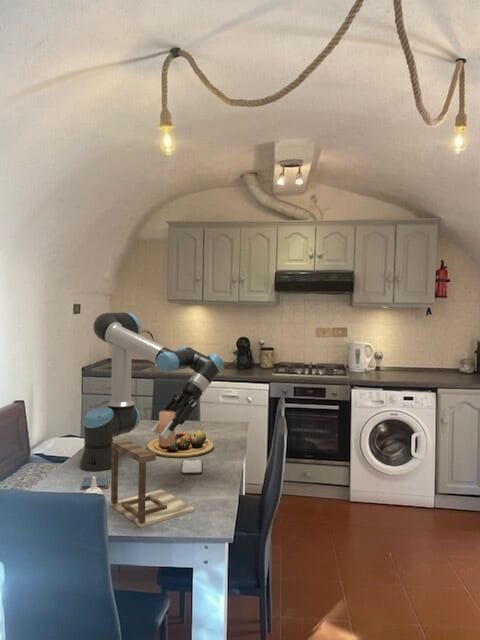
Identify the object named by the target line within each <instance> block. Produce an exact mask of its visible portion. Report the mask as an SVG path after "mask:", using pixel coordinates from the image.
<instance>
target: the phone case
mask: <svg viewBox="0 0 480 640" xmlns="http://www.w3.org/2000/svg"><path fill="white" fill-rule="evenodd" d="M203 467H204V465H203V460H202V459H182V460H181V472H180V474H181V475H182V476H196V475H197V476H200V475H203Z"/></svg>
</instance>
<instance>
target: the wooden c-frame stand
mask: <svg viewBox="0 0 480 640" xmlns="http://www.w3.org/2000/svg"><path fill="white" fill-rule="evenodd" d="M111 447H112V467H111V469H110V470H111V477H110V481H111V482H110V485H111V486H110V487H111V488H110V489H111V491H110V495H111V496H110V506H111V507H112V508H114V510H116V511H118V512H119V513H121V514H122V515H123V516H124V517H126V518H127V519H128V520H130V521H132V522H133V523H135V525H137V526H138V527H140V528H143V527H147V526H150V525H153V524H157V523H159V522H164V521H166V520H169V519H173V518H176V517H179V516H183V515H186V514H189V513H192V512H195V507H193V506H191V505H190V504H188V503H186V502H185V501H183V500H181V499H179V498H178V497H176V496H174V495H172V494H170V493H169V492H167V491H165V490H163V489H157V490H154V491H150V492H147V493H146V487H147V486H146V485H147V484H146V482H147V481H146V480H147V479H146V478H147V477H146V476H147V473H146V472H147V463H150V462H155V461H157V456H156V454H155V453H153V452H151V451H149V450H147V448H144V447H142V446H140V445H138V444H136V443H134V442H132V441H130V440H128V439H126V438H125V439H119V440H113V441H112V445H111ZM119 453H121V454H123V455H125V456H127V457H129V458H131V459H132V460H134V461H136V462H138V494H137V495H135V496H131V497H127V498H123V499H119V498H118V496H119V495H118V493H119V492H118V490H119V489H118V488H119V486H118V485H119Z"/></svg>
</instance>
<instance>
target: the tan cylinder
mask: <svg viewBox="0 0 480 640" xmlns="http://www.w3.org/2000/svg"><path fill="white" fill-rule="evenodd" d="M158 415H159V416H158V421H159V433H158V438H159V445H161V446H172V445H174V444H175V435H176V428H175V429H174V430H173V431H172V432H171V433H170V435H169V436H168V437H167V439H164V438H163V437H162V436H161V433H162V432H163V431H164V429H165V428H166V427H167V426H168V424H169V423H170V422H171V421H173V420H172V419H174V418H175V416H176V412H175V411H169V410H166V411H163V410H160V411H159V412H158ZM173 422H174V421H173Z"/></svg>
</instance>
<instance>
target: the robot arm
mask: <svg viewBox="0 0 480 640" xmlns="http://www.w3.org/2000/svg"><path fill="white" fill-rule="evenodd" d="M92 325H93V332H94V334H95V336H96V337H97V338H98V339H100V340H101V341H103V342H105V343H106V344H107V343H108V344H109V345H110V346H111V400H110V401H109V402H108V404H107V407H99V408H95V409H90V410H89V411H87V413H86V414H85V415H84V421H83V425H84V426H83V427H84V432H83V433H84V435H83V436H84V445H83V446H84V447H83V448H84V449H83V451H82V455H81V457H80V460H79V468H80V469H81V470H84V471H88V472H89V471H90V472H103V471H107V470H111V467H112V447H111V445H112V441H114V437H118V436H120V435H125V434H128V433H130V432H132V431H134V430H135V429H136V428H137V427H138V425H139V423H140V420H141V419H140V418H141V417H140V416H141V415H140V411H139V410H138V408H137V407H136V406H135V402H134V401H133V400H132V354H135V355H137V356H138V357H141V358H142V359H145V360H147V361H149V362H150V363H153V364H155V365H156V367H157V368H158V370H159V371H161V372H164V373H171V372H175V371H179V370H185V369H190V370H191V371H193V372H194V373H193V374H192V375H191V377H190V378H189V379H188V382H186V383H185V384H184V385H183V387H182V393H181V394H180V395H177V394H175V395H173V396H172V399H170V401H169V403H168V404H167V405H165V407H164V408H163V410H162V411H166V410H169V411H175V418H174V419H172V420H173V421H174V422H173V421H171V422H170V423H169V424H168V426H167V427H166V428H165V429H164V431H163V432H162V433H161V436H162V437H163V438H164V439H167V437H168V436H169V435H170V433H171V432H172V431H173V430H174V429H175V430H176V427H178V426H179V425H181V426H182V425H183V424H184V423H185V422H186V420H187V419H188V417H189V416H190V415H191V413H193V410H194V409H195V408H196V407H197V406H198V403H197V402H196V401H198V400H199V399H200V398H201V397H202V396H203V393H204V392H205V391H206V390H207V388H208V387H209V386H210V385H211V383H212V382H213V380H215V378H216V377H217V375H218V374H219V373H220V372H221V371H222V368H224V365H225V362H224V360H223V358H222V357H221V356H220V355H219V354H217V353H214V352H210V353H209V354H208V355H205V354H203V353H201V352H199V351H197V350H195V349H194V348H192V347H190V346H187V345H181V346H180V347H178V348H177V350H173V349H171V348H168V347H166V346H163V345H162V344H159V343H157V342H155V341H153V340H151V339H149V338H147V337H144V336H143V335H141V334H140V332H141V322H140V320H139V319H138V317H137V316H136V315H135V314H133V313H131V312H125V311H124V312H104V313H101V314H99V315H98V316H97V317H96V318H95V320H94V322H93V324H92ZM151 432H152V433H153V434H154V435H155V436H158V435H159V420H158V421H157V423H156V424H155V425H154V426H153V428H152V429H151Z"/></svg>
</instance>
